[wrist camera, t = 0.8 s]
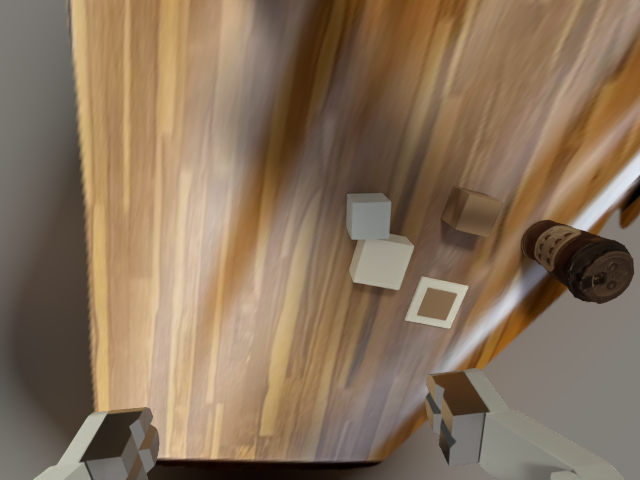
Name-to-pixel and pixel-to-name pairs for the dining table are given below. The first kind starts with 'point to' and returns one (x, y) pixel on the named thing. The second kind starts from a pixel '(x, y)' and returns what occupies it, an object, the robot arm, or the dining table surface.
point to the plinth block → (381, 261)
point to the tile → (436, 302)
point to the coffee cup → (580, 260)
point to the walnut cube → (471, 211)
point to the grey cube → (368, 216)
